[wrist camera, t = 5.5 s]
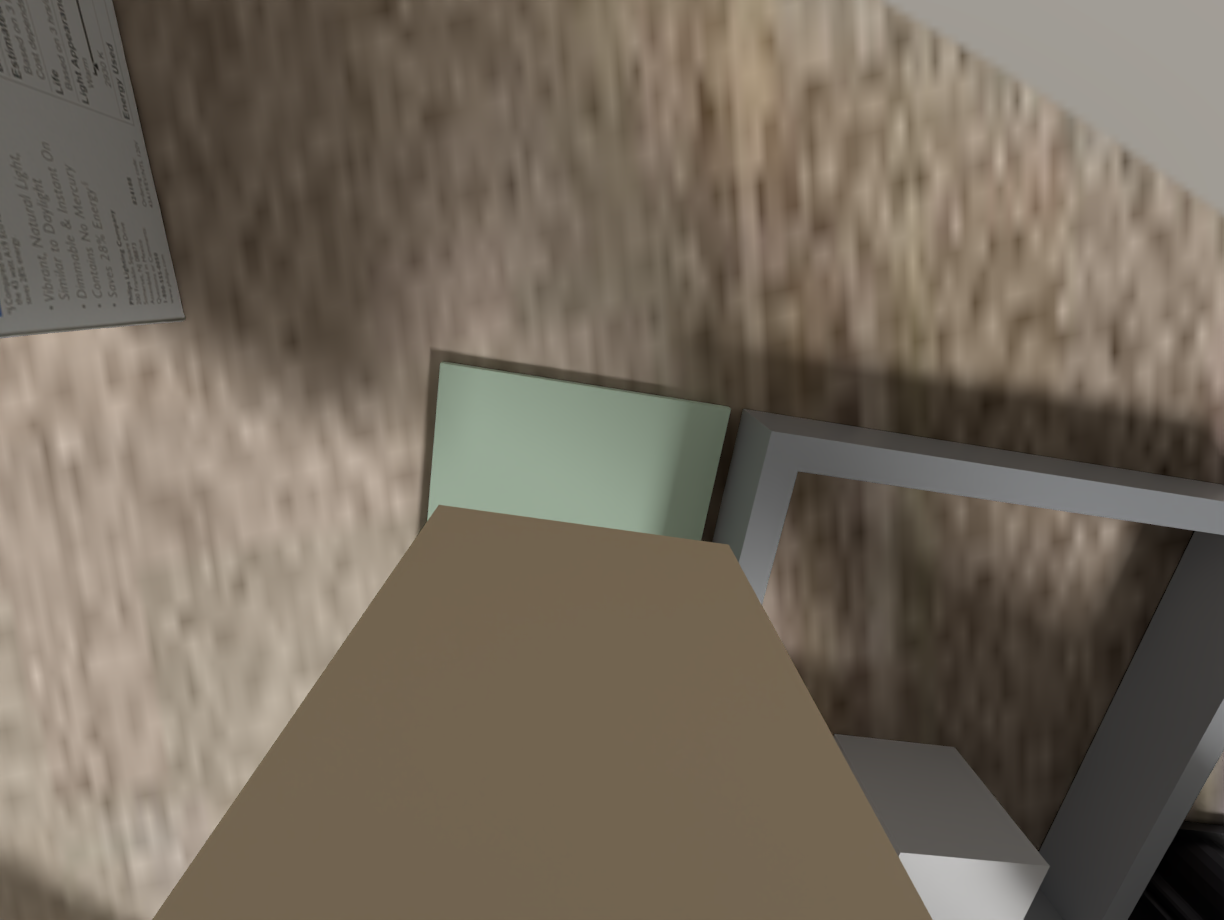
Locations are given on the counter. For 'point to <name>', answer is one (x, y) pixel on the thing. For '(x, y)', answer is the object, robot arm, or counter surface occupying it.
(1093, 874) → the grey bin
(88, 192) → the light bulb box
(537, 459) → the green mat
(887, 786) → the grey box
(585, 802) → the kraft box
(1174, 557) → the counter surface
